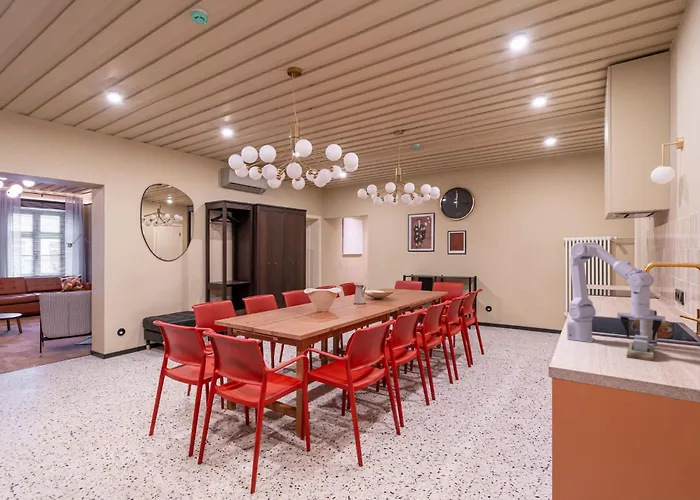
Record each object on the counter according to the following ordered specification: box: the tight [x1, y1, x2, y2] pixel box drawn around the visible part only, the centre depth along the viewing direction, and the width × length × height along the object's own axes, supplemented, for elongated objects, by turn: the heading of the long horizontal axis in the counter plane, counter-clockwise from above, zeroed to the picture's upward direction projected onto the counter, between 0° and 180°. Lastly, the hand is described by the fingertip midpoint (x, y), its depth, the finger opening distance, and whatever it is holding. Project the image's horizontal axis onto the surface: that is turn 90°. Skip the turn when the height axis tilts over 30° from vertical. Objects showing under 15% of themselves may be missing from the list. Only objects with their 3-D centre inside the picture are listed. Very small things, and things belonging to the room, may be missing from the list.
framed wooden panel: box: [626, 341, 655, 362], centre depth 142 cm, size 8×18×2 cm, turn 140°
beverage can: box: [640, 308, 658, 346], centre depth 156 cm, size 6×6×15 cm
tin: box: [631, 319, 675, 339], centre depth 167 cm, size 15×3×8 cm, turn 62°
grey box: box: [632, 334, 648, 352], centre depth 142 cm, size 4×12×5 cm, turn 140°
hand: (640, 338), depth 142 cm, fingers open, 7 cm apart
